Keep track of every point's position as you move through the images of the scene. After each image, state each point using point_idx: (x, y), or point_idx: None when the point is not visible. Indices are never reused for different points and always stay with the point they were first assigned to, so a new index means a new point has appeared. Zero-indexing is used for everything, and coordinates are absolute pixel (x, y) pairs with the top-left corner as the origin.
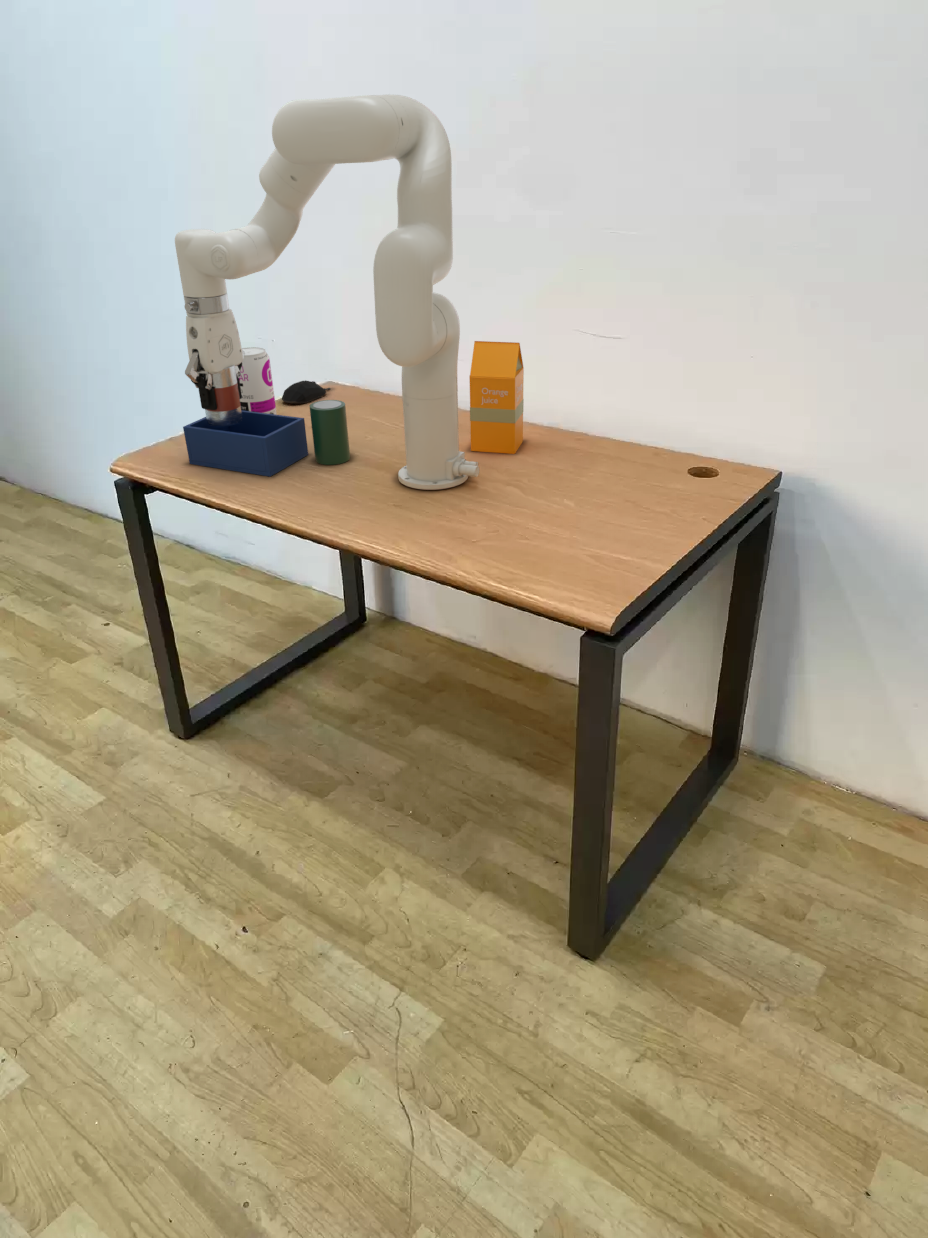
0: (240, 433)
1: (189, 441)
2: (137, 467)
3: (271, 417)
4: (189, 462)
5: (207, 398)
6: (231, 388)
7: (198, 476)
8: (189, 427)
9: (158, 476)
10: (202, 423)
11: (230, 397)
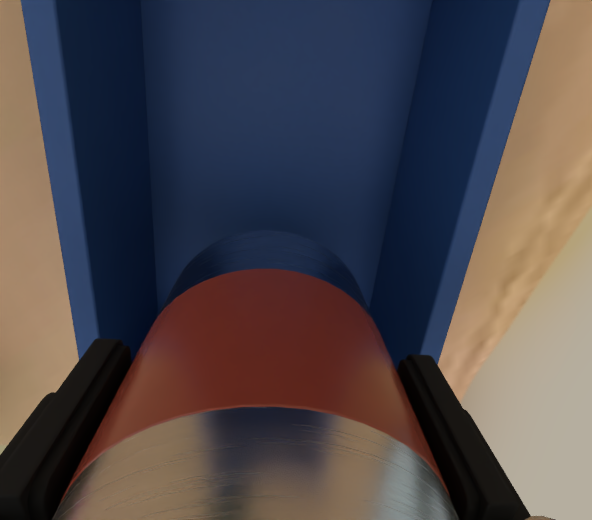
0: (505, 82)
1: None
2: None
3: (73, 87)
4: None
5: (490, 453)
6: (319, 386)
7: (481, 239)
8: None
9: (489, 351)
10: None
11: (332, 335)
